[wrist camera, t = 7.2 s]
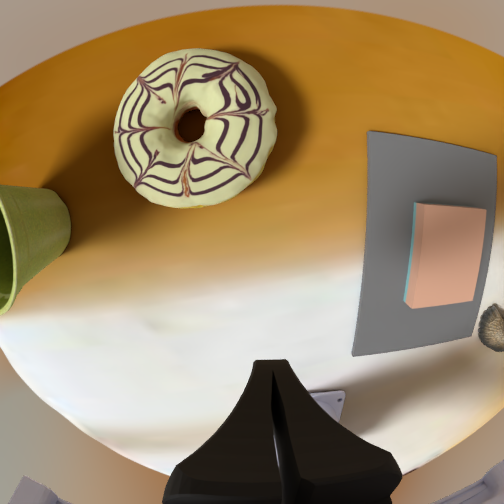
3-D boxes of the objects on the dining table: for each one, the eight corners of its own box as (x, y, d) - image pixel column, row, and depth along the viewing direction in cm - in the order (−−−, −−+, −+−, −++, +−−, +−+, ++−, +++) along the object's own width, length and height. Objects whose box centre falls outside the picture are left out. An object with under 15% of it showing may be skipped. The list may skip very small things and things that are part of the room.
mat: (469, 334, 23) (471, 336, 23) (351, 354, 23) (352, 356, 23) (493, 155, 18) (496, 155, 18) (367, 131, 19) (368, 130, 18)
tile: (403, 300, 21) (462, 294, 21) (411, 308, 20) (472, 300, 20) (413, 202, 19) (475, 207, 19) (424, 204, 18) (486, 209, 18)
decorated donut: (269, 57, 17) (272, 35, 14) (276, 201, 20) (282, 206, 16) (130, 74, 18) (109, 58, 14) (133, 210, 20) (111, 217, 17)
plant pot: (22, 275, 21) (-37, 309, 13) (10, 177, 19) (-58, 187, 11) (95, 277, 21) (32, 324, 13) (83, 161, 19) (6, 160, 11)
